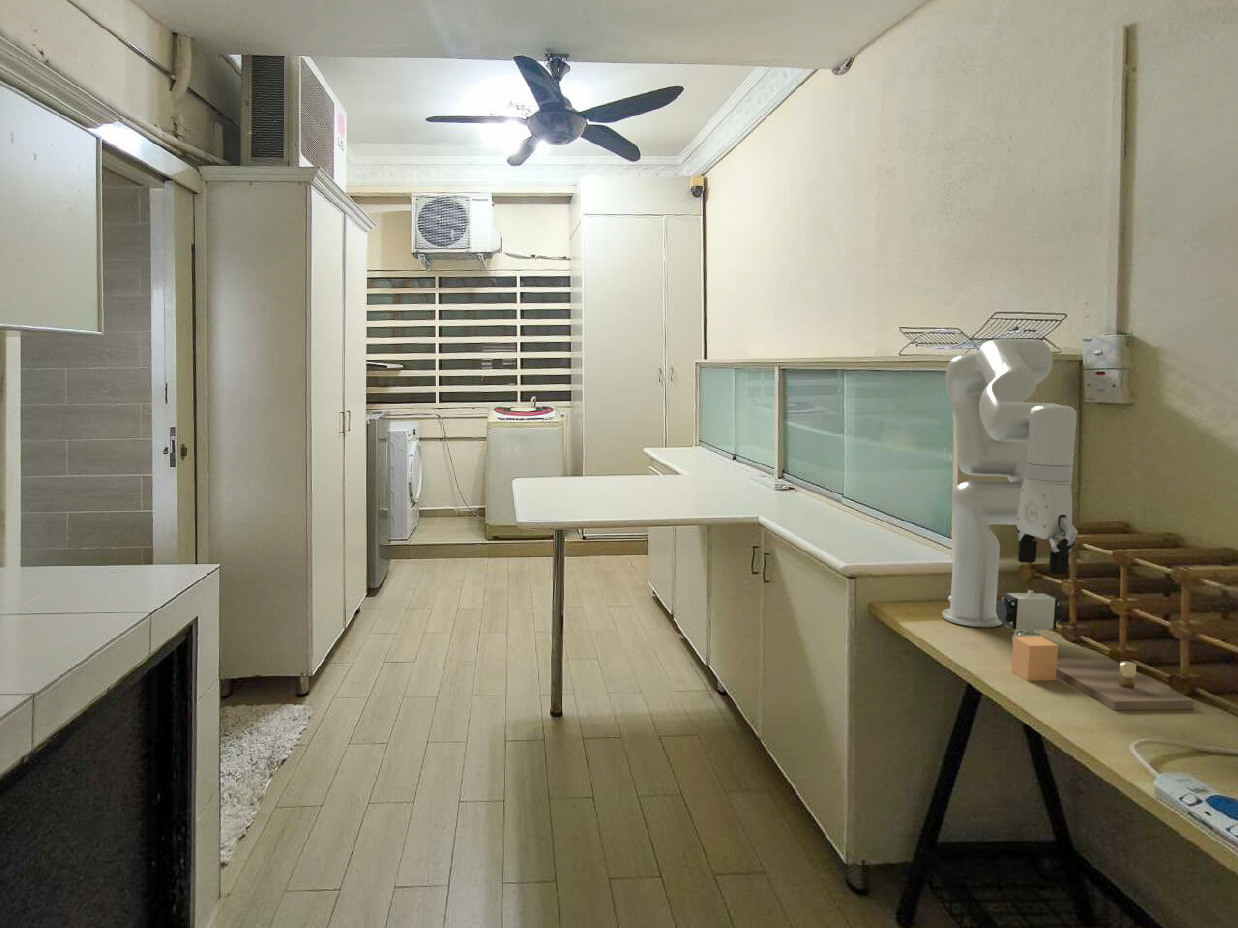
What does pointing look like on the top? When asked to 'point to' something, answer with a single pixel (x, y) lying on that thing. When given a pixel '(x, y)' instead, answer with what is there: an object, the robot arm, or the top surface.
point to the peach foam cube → (1034, 658)
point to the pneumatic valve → (1029, 612)
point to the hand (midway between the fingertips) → (1041, 567)
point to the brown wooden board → (1119, 685)
